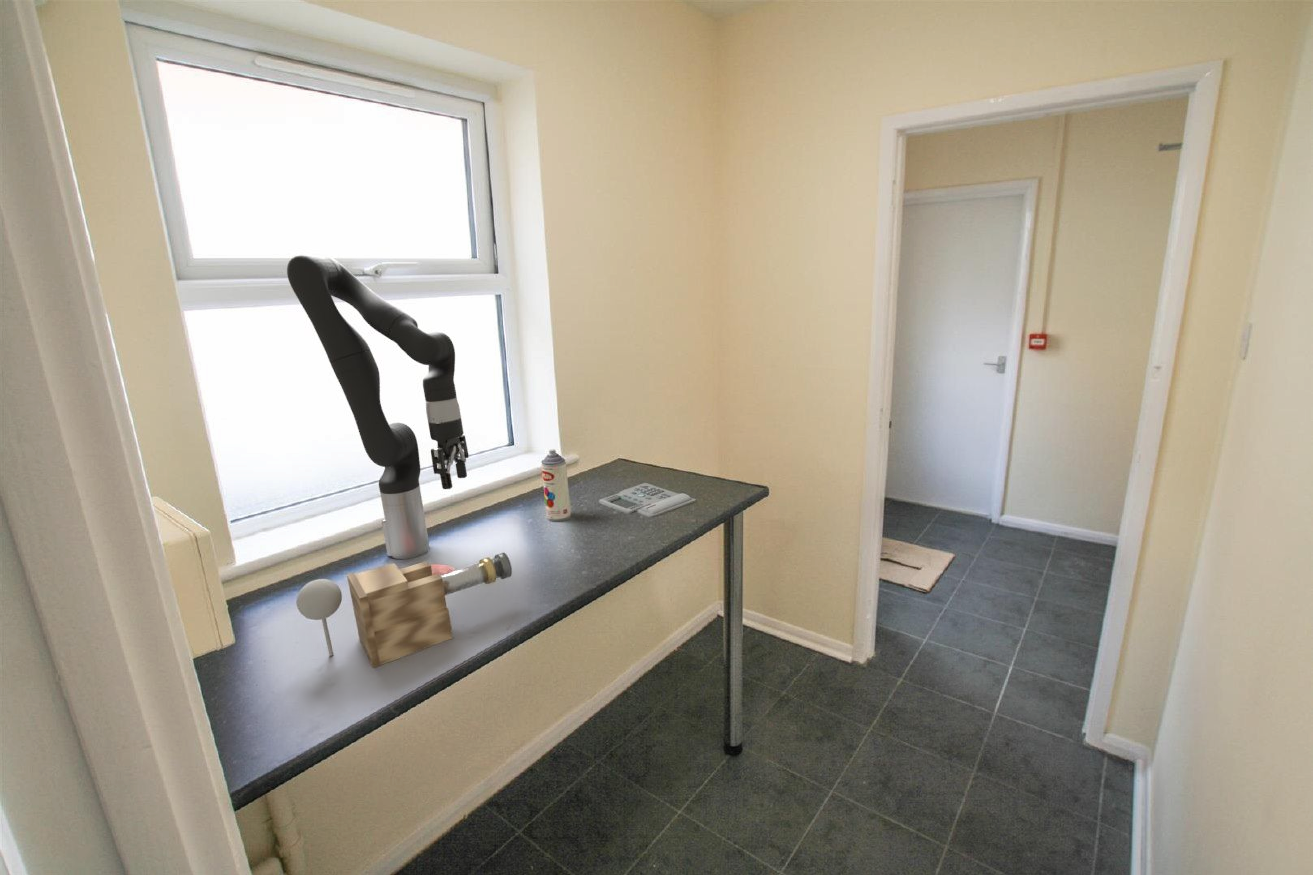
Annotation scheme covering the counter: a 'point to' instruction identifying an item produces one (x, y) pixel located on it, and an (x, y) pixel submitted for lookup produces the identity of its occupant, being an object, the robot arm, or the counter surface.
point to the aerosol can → (556, 487)
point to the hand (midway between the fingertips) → (455, 483)
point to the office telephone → (648, 500)
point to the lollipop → (320, 603)
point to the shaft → (477, 574)
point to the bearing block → (399, 610)
